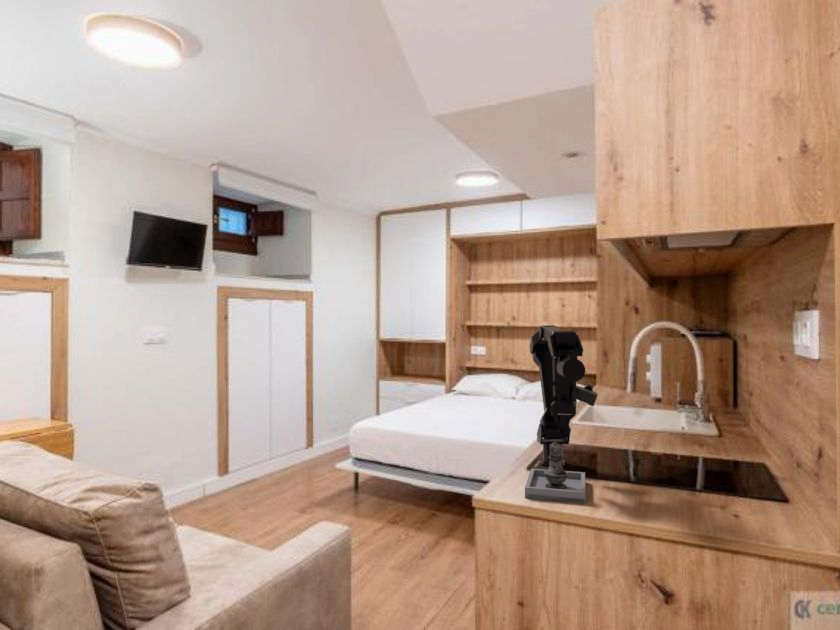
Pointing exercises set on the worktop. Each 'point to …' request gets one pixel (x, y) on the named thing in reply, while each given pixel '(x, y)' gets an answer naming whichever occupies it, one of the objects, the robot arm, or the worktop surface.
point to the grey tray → (571, 494)
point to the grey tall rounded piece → (555, 468)
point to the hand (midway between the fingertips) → (564, 434)
